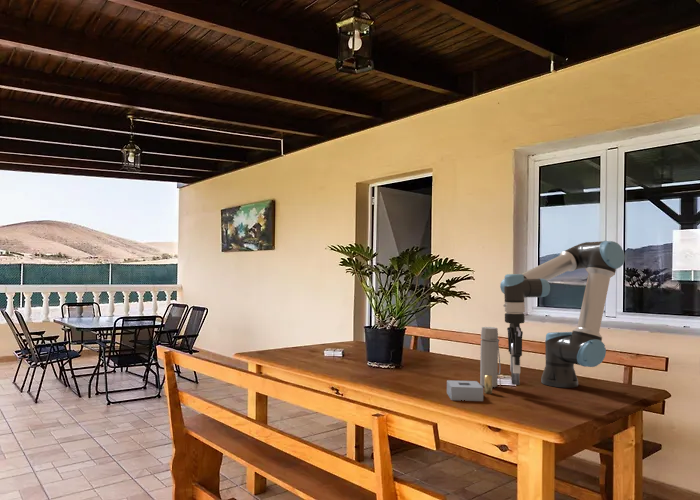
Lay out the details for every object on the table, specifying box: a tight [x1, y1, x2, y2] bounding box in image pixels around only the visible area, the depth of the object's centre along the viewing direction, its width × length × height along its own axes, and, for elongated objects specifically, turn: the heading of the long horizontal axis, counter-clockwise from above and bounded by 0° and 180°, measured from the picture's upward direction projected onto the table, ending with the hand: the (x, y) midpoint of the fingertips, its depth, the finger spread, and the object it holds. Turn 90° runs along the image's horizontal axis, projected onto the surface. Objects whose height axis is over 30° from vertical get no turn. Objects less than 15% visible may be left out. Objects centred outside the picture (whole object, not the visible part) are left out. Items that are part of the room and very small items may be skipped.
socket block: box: [446, 379, 484, 402], centre depth 203 cm, size 12×12×5 cm
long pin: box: [510, 343, 521, 386], centre depth 206 cm, size 3×3×16 cm
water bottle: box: [479, 326, 502, 389], centre depth 224 cm, size 9×8×25 cm
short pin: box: [483, 375, 493, 395], centre depth 211 cm, size 3×3×7 cm
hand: (515, 372), depth 206 cm, fingers closed on long pin, 3 cm apart
